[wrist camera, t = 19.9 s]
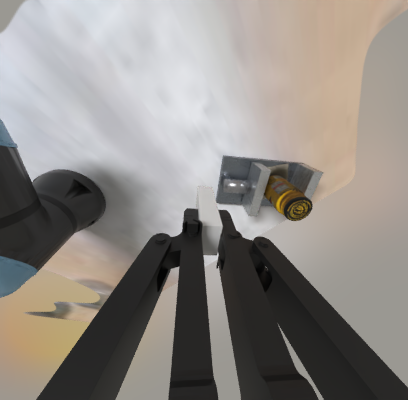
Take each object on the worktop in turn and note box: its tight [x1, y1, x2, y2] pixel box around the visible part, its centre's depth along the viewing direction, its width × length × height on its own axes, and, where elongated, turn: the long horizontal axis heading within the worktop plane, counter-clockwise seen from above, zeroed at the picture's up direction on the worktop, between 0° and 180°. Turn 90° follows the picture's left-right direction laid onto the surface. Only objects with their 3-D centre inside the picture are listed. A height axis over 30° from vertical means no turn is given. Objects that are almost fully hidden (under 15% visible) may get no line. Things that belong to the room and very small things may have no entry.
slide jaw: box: [222, 162, 271, 216], centre depth 36 cm, size 8×11×6 cm
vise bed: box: [216, 156, 323, 206], centre depth 38 cm, size 20×12×7 cm, turn 84°
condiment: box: [262, 163, 312, 221], centre depth 35 cm, size 7×8×12 cm
